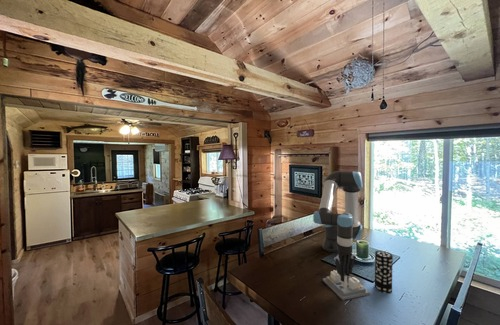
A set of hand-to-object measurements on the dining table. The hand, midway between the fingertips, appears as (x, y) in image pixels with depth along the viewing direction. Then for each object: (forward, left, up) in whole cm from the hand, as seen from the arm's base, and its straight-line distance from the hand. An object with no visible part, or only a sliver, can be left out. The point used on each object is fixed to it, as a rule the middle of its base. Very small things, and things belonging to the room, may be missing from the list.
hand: (344, 286), depth 119 cm
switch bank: (-4, -5, -4) cm, 7 cm away
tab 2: (-7, 0, -3) cm, 7 cm away
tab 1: (-1, -9, -3) cm, 10 cm away
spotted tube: (-24, +2, -4) cm, 24 cm away
